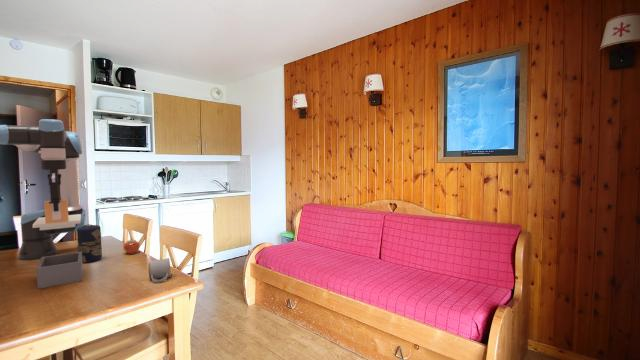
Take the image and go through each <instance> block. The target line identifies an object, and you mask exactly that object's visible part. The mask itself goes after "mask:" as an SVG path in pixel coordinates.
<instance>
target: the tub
mask: <svg viewBox="0 0 640 360" xmlns="http://www.w3.org/2000/svg"><path fill="white" fill-rule="evenodd" d="M83 263H84V262H82V252H78V251H76V252H69V253H61V254H55V255H52V256H47V257H41V258H40V260H39V262H38V264H37V266H36V269H35V271H36V286H37V289H44V288H49V287H55V286H61V285H67V284H72V283H73V284H74V283H77V282H82V281H83V279H84V278H83V276H84V264H83Z"/></svg>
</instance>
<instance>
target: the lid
mask: <svg viewBox="0 0 640 360" xmlns="http://www.w3.org/2000/svg"><path fill="white" fill-rule="evenodd" d="M43 202H44V204H43V206H44V210H45V217H41V218H38V219H37V220H36V221H35V223H34V224H33V228H38V227H40V230H49V229H59V228H69V227H75V225H76V224H79V223H80V222H81V214H77V215H68V201H67V200H60V205H61V219H58V220H52V206H51V203H50V204H49V202H51V200H44V201H43Z"/></svg>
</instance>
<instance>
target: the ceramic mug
mask: <svg viewBox="0 0 640 360" xmlns="http://www.w3.org/2000/svg"><path fill="white" fill-rule="evenodd" d="M170 261H171V260H170V258H169V257H168V258H163V259H157V260H153V261H150V262H148V268H147V269H148V277H149V278H148V279H150V280H152V282H153V283H156V284H158V283H159V284H160V283H162V282H165V281H166V280H167V279H168V278H170V277H172V276H171V274H172V273H171V264H170Z"/></svg>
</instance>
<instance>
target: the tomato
mask: <svg viewBox="0 0 640 360" xmlns="http://www.w3.org/2000/svg"><path fill="white" fill-rule="evenodd" d="M139 249H140V242H138V241H137V240H136V239H133V238H132V237H131V238H130V239H129V240H127V241H126V242H125V243H124V245H123V250H124V252H125V253H126V254H128V255H134V254H136V253H137V252H138V251H139Z"/></svg>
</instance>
